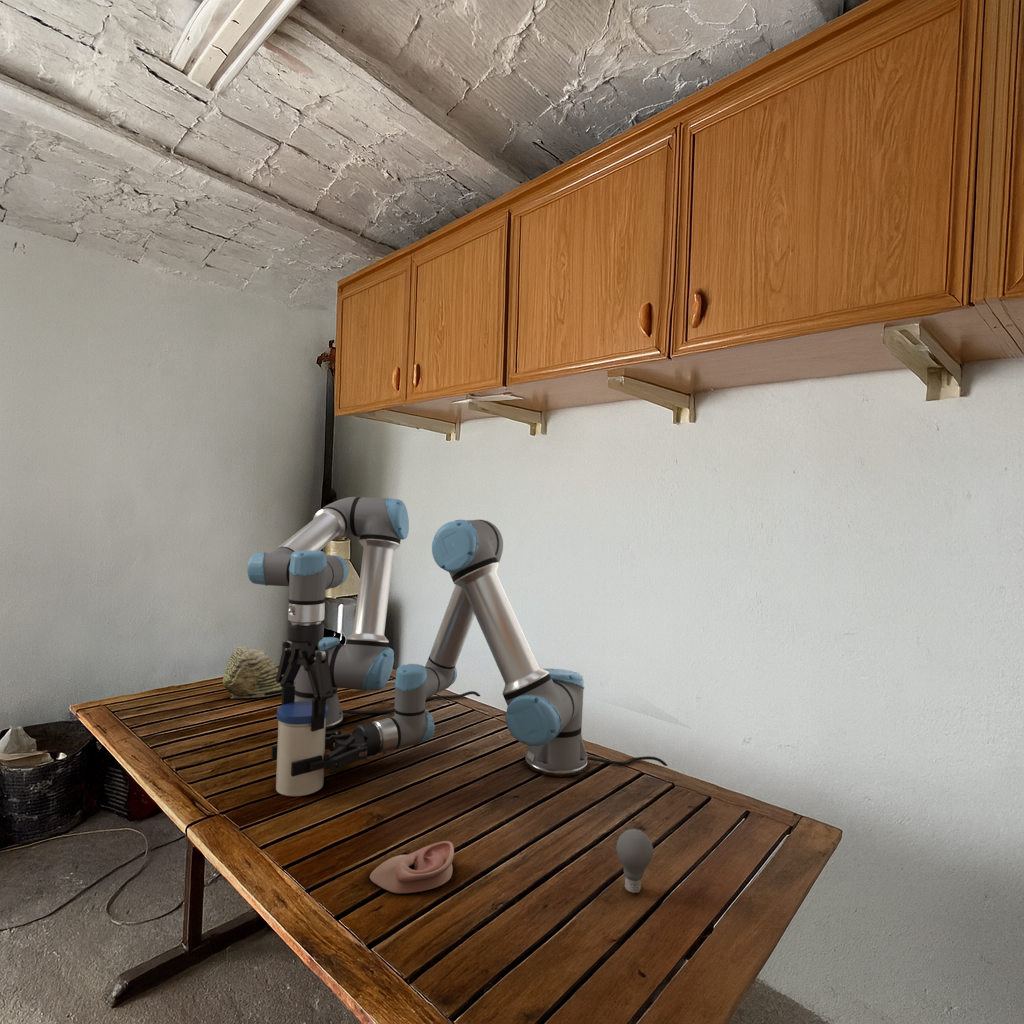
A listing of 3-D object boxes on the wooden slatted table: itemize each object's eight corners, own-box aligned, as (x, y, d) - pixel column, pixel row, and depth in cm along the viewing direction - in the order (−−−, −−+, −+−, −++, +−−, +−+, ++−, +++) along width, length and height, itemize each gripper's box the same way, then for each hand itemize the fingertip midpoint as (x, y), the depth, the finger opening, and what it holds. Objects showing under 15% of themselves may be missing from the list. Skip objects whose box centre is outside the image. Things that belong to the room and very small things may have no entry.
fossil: (218, 695, 195) (220, 647, 195) (278, 685, 208) (279, 640, 207) (228, 703, 189) (230, 653, 188) (289, 692, 201) (290, 645, 201)
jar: (311, 798, 133) (314, 723, 133) (266, 793, 134) (269, 719, 134) (330, 778, 143) (333, 708, 142) (289, 773, 144) (291, 704, 144)
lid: (325, 706, 145) (325, 699, 145) (330, 721, 135) (330, 714, 135) (275, 709, 141) (276, 702, 141) (277, 726, 131) (277, 718, 131)
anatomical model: (362, 863, 103) (389, 828, 114) (361, 887, 103) (389, 850, 114) (440, 876, 100) (460, 839, 112) (439, 901, 101) (459, 861, 112)
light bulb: (610, 879, 108) (613, 822, 108) (644, 879, 109) (647, 822, 109) (619, 902, 102) (622, 840, 102) (655, 901, 103) (658, 840, 103)
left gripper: (261, 616, 142) (257, 713, 142) (322, 633, 128) (318, 741, 128) (291, 612, 148) (287, 706, 148) (353, 628, 134) (349, 731, 134)
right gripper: (398, 770, 142) (303, 798, 127) (350, 739, 159) (261, 760, 144) (400, 737, 142) (304, 761, 127) (351, 709, 159) (262, 727, 144)
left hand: (302, 722), depth 138 cm, fingers closed on lid, 11 cm apart
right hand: (281, 761), depth 135 cm, fingers closed on jar, 10 cm apart
